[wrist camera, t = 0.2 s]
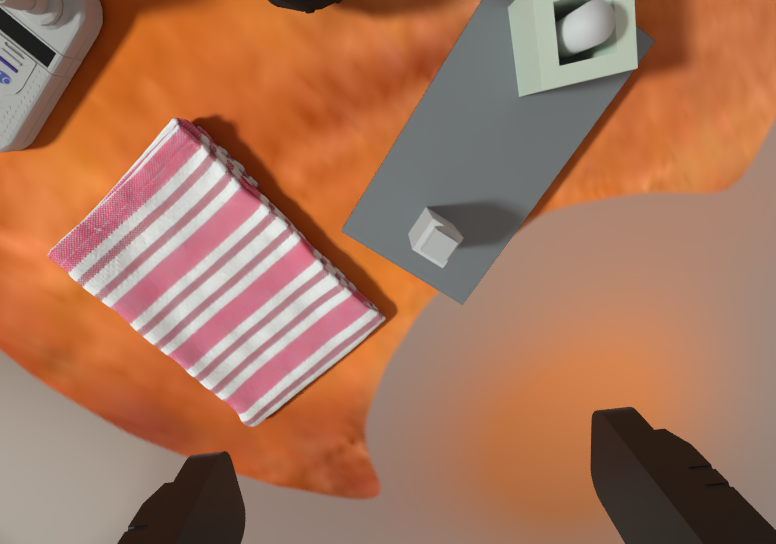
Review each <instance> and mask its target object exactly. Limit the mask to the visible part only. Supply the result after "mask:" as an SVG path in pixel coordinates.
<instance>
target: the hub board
mask: <svg viewBox="0 0 776 544" xmlns="http://www.w3.org/2000/svg"><path fill="white" fill-rule="evenodd" d="M514 1H515V0H481V2H480V4H479V5H478V7H477V9H476V10H475V12H474V14H473V15H472V17H471V18H470V20H469V22H468V23H467V25H466V27H465V28H464V30H463V32H462V33H461V35H460V36H459V38H458V40H457V41H456V43H455V45H454V46H453V48H452V50H451V51H450V53H449V54H448V56H447V58H446V59H445V61H444V63H443V64H442V66H441V68H440V69H439V71H438V72H437V74H436V76H435V77H434V79H433V81H432V82H431V84H430V86H429V87H428V89H427V90H426V92H425V94H424V95H423V97H422V99H421V100H420V102H419V104H418V105H417V107H416V108H415V110H414V112H413V113H412V115H411V117H410V118H409V120H408V122H407V123H406V125H405V126H404V128H403V130H402V131H401V133H400V135H399V136H398V138H397V140H396V141H395V143H394V144H393V146H392V148H391V149H390V151H389V153H388V154H387V156H386V158H385V159H384V161H383V162H382V164H381V166H380V167H379V169H378V171H377V172H376V174H375V176H374V177H373V179H372V180H371V182H370V184H369V185H368V187H367V189H366V190H365V192H364V194H363V195H362V197H361V198H360V200H359V202H358V203H357V205H356V207H355V208H354V210H353V211H352V213H351V215H350V216H349V218H348V220H347V221H346V223H345V225H344V226H343V228H342V230H341V232H343V233H345V234H346V235H348V236H350V237H351V238H353V239H355V240H356V241H358V242H360V243H361V244H363V245H365V246H366V247H368V248H369V249H371V250H373V251H374V252H376V253H378V254H379V255H381V256H383V257H384V258H386V259H388V260H389V261H391V262H393V263H394V264H396V265H398V266H399V267H401V268H403V269H404V270H406V271H407V272H409V273H411V274H412V275H414V276H416V277H417V278H419V279H421V280H422V281H424V282H426V283H427V284H429V285H431V286H432V287H434V288H436V289H437V290H439V291H441V292H442V293H444V294H446V295H447V296H449V297H451V298H452V299H454V300H455V301H457V302H459V303H460V304H462V305H463V304H464V302H465V301H466V300H467V298H468V297H469V295H470V294H471V293H472V291H473V290H474V289H475V287H476V286H477V284H478V283H479V282H480V280H481V279H482V278H483V276H484V275H485V274H486V272H487V271H488V269H489V268H490V267H491V265H492V264H493V262H494V261H495V260H496V258H497V257H498V256H499V254H500V253H501V252H502V250H503V249H504V247H505V246H506V245H507V243H508V242H509V241H510V239H511V238H512V237H513V235H514V234H515V232H516V231H517V230H518V228H519V227H520V226H521V224H522V223H523V221H524V220H525V219H526V217H527V216H528V215H529V213H530V212H531V211H532V209H533V208H534V206H535V205H536V204H537V202H538V201H539V200H540V198H541V197H542V195H543V194H544V193H545V191H546V190H547V189H548V187H549V186H550V184H551V183H552V182H553V180H554V179H555V178H556V176H557V175H558V174H559V172H560V171H561V169H562V168H563V167H564V165H565V164H566V163H567V161H568V160H569V158H570V157H571V156H572V154H573V153H574V152H575V150H576V149H577V147H578V146H579V145H580V143H581V142H582V141H583V139H584V138H585V137H586V135H587V134H588V132H589V131H590V130H591V128H592V127H593V126H594V124H595V123H596V121H597V120H598V119H599V117H600V116H601V115H602V113H603V112H604V110H605V109H606V108H607V106H608V105H609V104H610V102H611V101H612V100H613V98H614V97H615V95H616V94H617V93H618V91H619V90H620V89H621V87H622V86H623V84H624V83H625V82H626V80H627V79H628V78H629V76H630V75H631V74H632V72H633V71H634V69H633V70H629V71H625V72H621V73H617V74H613V75H609V76H605V77H601V78H597V79H593V80H589V81H584V82H580V83H576V84H572V85H567V86H563V87H559V88H555V89H551V90H546V91H542V92H538V93H534V94H529V95H525V96H521V97H519V92H518V84H517V76H516V69H515V61H514V53H513V45H512V37H511V29H510V21H509V13H508V7H509V6H510V5H511V4H512V3H513V2H514ZM554 17H555V27H556V37H557V47H558V57H559V66H562V65H566V64H570V63H574V62H578V61H582V54H581V51H584V50H586V49H589V48H591V47H594V46H596V45H598V44H601V43H603V42H604V41H605V40H607V39H608V38H609V36H610V35H611V33H612V32H613V29H614V26H615V13H614V10H613V8H612V6H611V5H610V4H609V3H607V2H606V1H604V0H591V1H589V2H587V3H586V4H584V5H582V6H581V7H579V8H578V9H576V10H573V11H569V12H565V13H561V14H557V15H554ZM636 41H637V62H638V64H639V63H640V61H641V60H642V58H643V57H644V56H645V54H646V53H647V52H648V50H649V49H650V47H651V46H652V45H653V43H654V42H655V40H653V39H652V38H651V37H650V36H649V35H647V34H646V33H645V32H644V31H642V30H641V29H640V28H639V27H637V26H636Z"/></svg>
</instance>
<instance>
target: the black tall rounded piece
mask: <svg viewBox="0 0 776 544" xmlns="http://www.w3.org/2000/svg"><path fill="white" fill-rule="evenodd" d="M268 1H269V2H270V3H271V4H273V5H275V6H277V7H281V8H287V9H292V10H297V11H305V12H306V13H314V11H315V10H318V9H323V8H325V7H327V6H329V5H331V4H333V3H335V2H337V3H339V2H341V1H342V0H268Z"/></svg>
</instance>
